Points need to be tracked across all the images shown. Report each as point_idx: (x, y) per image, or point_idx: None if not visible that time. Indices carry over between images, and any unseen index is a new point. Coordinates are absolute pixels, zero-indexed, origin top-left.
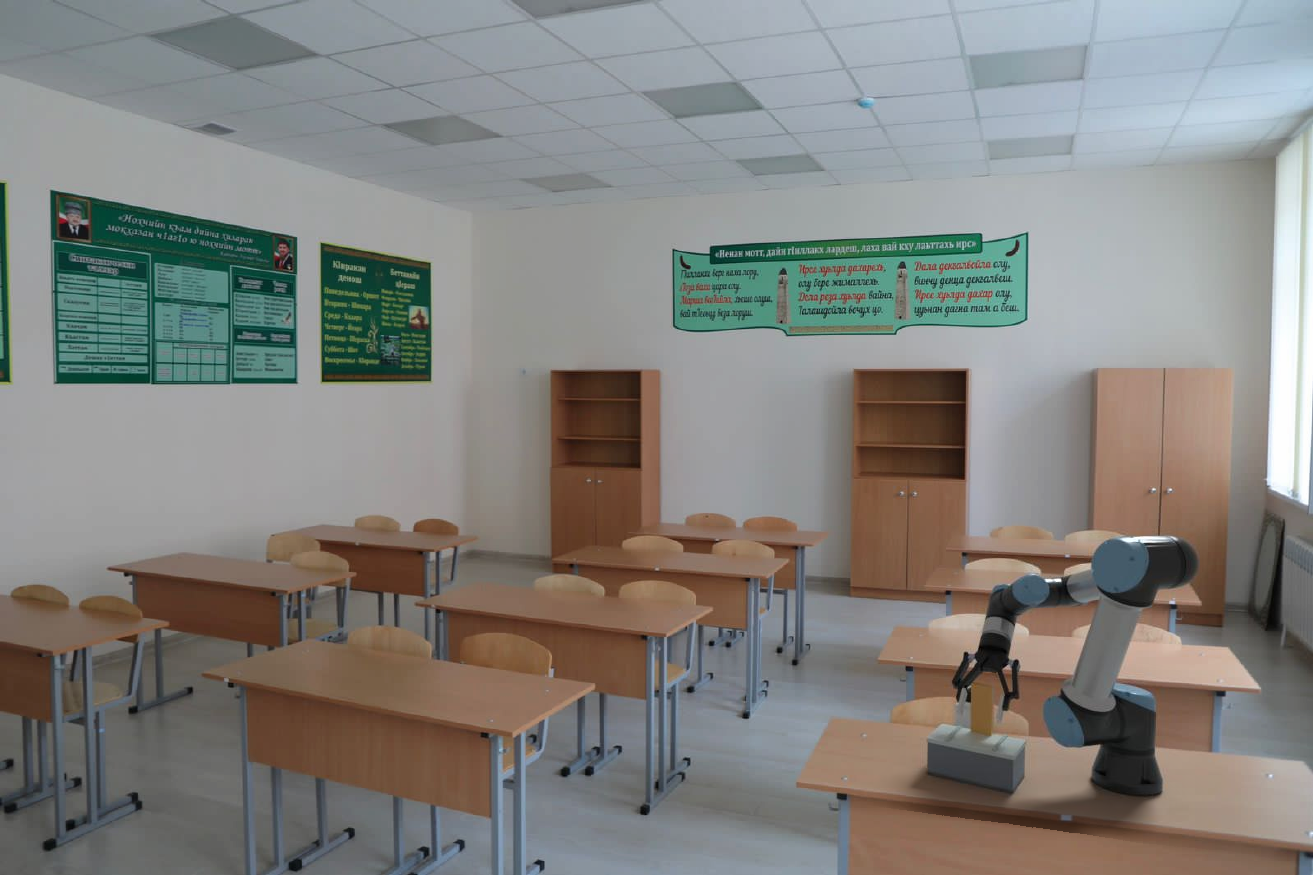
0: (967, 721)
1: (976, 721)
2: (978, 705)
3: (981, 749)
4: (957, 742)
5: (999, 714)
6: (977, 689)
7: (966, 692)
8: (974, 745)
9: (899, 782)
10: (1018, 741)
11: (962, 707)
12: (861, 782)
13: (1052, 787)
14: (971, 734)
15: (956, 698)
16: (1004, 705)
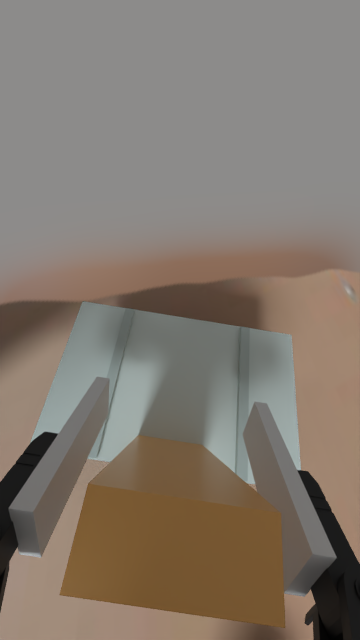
0: None
1: (188, 448)
2: (189, 459)
3: (158, 313)
4: (218, 334)
5: (90, 389)
6: (213, 490)
7: (290, 574)
8: (176, 331)
9: (279, 306)
10: (56, 420)
11: (256, 448)
12: (323, 285)
13: (26, 399)
14: (195, 418)
15: (310, 476)
16: (47, 448)
